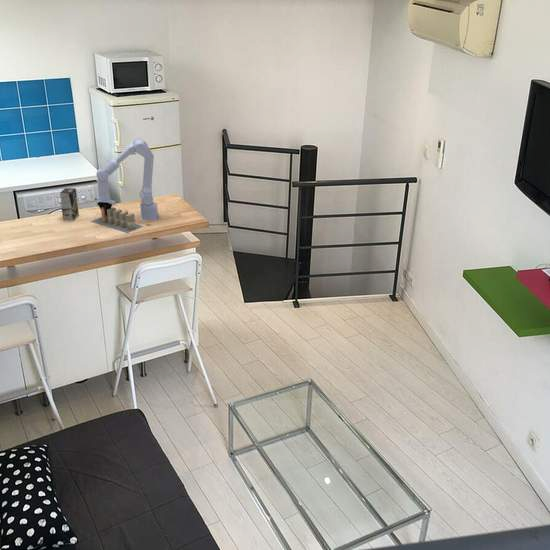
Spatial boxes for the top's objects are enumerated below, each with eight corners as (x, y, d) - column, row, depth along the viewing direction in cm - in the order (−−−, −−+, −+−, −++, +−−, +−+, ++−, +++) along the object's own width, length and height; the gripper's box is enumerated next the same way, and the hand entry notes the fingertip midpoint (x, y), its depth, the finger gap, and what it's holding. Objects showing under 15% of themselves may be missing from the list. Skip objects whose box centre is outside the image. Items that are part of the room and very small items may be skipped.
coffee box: (74, 221, 342) (71, 193, 334) (62, 221, 342) (59, 193, 335) (79, 215, 350) (76, 188, 343) (68, 215, 350) (64, 187, 343)
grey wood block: (108, 223, 339) (107, 209, 336) (114, 221, 343) (113, 207, 339) (110, 224, 338) (109, 210, 335) (117, 221, 342) (115, 208, 338)
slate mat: (90, 222, 341) (90, 221, 341) (106, 215, 350) (106, 215, 350) (127, 233, 328) (127, 233, 328) (143, 227, 337) (143, 226, 337)
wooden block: (120, 227, 335) (119, 213, 331) (126, 224, 338) (125, 210, 335) (123, 228, 334) (121, 214, 330) (129, 225, 337) (128, 211, 334)
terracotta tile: (102, 221, 342) (100, 207, 338) (108, 219, 345) (107, 205, 341) (104, 222, 340) (103, 208, 337) (111, 220, 344) (109, 206, 340)
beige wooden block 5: (126, 229, 333) (125, 215, 329) (132, 226, 336) (131, 212, 332) (129, 230, 332) (128, 215, 328) (135, 227, 335) (134, 213, 332)
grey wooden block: (114, 225, 337) (113, 211, 333) (120, 222, 340) (119, 209, 337) (117, 226, 336) (115, 212, 332) (123, 223, 339) (121, 209, 336)
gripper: (88, 190, 335) (91, 214, 341) (107, 195, 329) (110, 219, 335) (98, 187, 341) (101, 210, 347) (117, 192, 334) (119, 216, 340)
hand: (106, 214), depth 341 cm, fingers closed on terracotta tile, 2 cm apart
